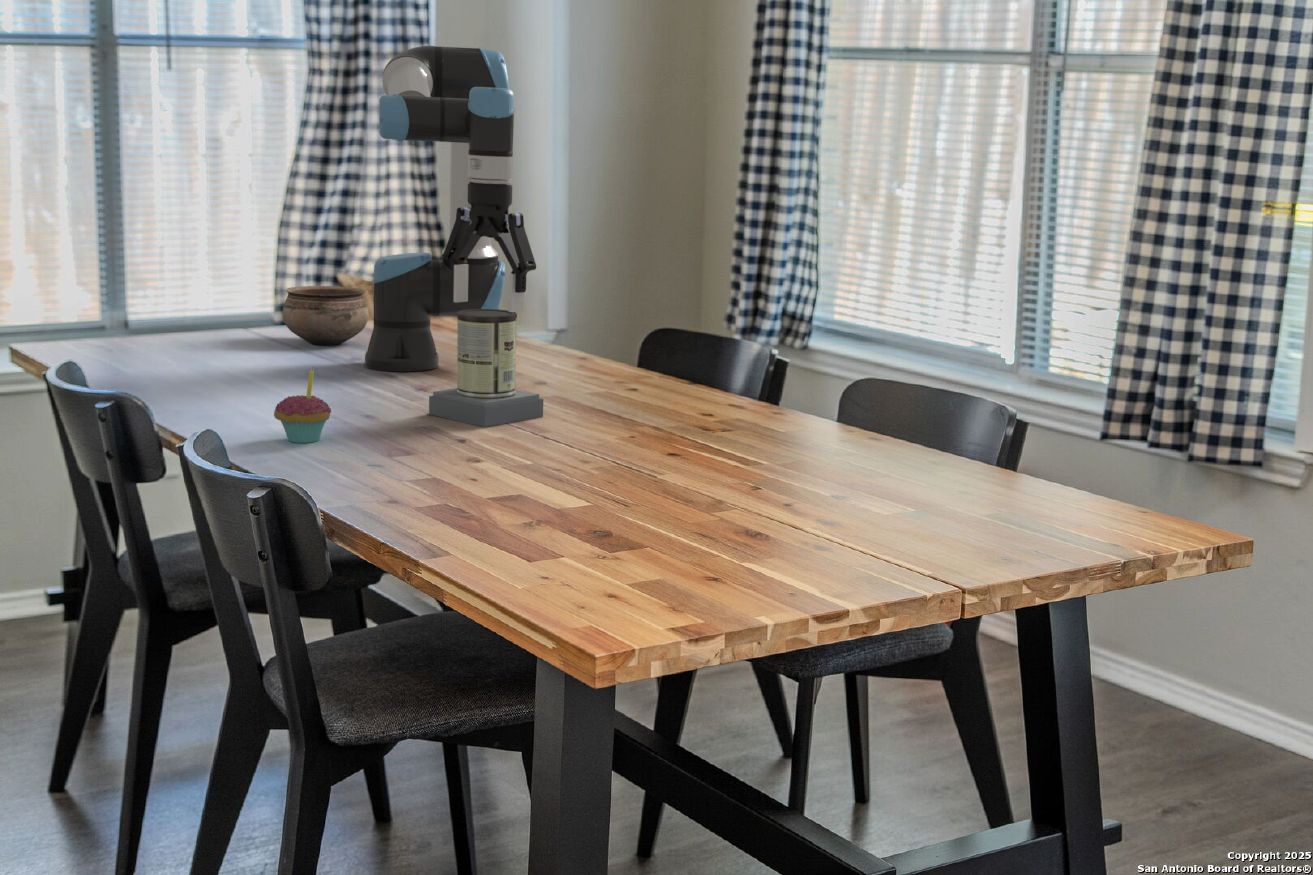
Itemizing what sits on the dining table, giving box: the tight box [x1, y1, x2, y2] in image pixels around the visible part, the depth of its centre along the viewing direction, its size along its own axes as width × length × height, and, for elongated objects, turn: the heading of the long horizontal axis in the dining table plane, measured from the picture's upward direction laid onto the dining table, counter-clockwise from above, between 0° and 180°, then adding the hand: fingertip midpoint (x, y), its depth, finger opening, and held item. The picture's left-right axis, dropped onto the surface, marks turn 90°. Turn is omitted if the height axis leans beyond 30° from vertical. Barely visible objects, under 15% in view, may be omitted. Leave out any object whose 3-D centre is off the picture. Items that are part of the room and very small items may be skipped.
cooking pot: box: [281, 285, 370, 347], centre depth 308 cm, size 25×19×12 cm
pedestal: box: [428, 387, 544, 428], centre depth 238 cm, size 14×14×4 cm
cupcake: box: [273, 365, 332, 444], centre depth 213 cm, size 9×8×12 cm
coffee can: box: [456, 309, 518, 398], centre depth 237 cm, size 10×10×14 cm
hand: (487, 306), depth 235 cm, fingers open, 13 cm apart
